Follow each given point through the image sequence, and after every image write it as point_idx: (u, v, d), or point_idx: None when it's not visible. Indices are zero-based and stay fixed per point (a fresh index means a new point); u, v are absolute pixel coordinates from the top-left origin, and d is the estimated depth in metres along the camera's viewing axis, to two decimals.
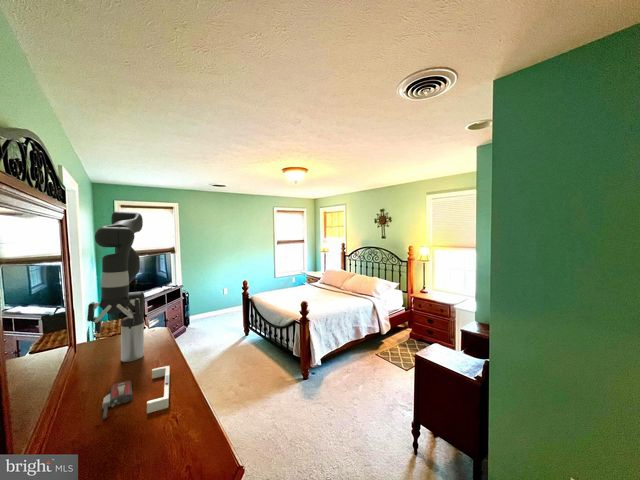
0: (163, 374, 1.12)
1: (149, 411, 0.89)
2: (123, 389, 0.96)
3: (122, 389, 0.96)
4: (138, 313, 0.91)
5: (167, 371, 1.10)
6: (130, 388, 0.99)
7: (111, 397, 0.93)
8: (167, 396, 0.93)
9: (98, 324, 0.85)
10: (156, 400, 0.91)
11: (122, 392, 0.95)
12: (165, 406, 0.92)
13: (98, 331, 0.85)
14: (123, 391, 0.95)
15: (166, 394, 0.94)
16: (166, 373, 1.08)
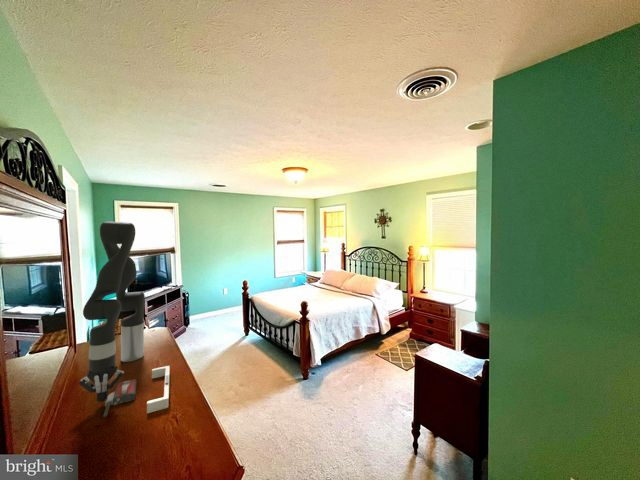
0: (163, 374, 1.12)
1: (149, 411, 0.89)
2: (126, 388, 0.96)
3: (125, 388, 0.96)
4: (112, 386, 0.93)
5: (167, 371, 1.10)
6: (134, 387, 1.00)
7: (114, 395, 0.94)
8: (167, 396, 0.93)
9: (100, 394, 0.92)
10: (156, 400, 0.91)
11: (125, 391, 0.95)
12: (165, 406, 0.92)
13: (100, 400, 0.92)
14: (126, 390, 0.96)
15: (166, 394, 0.94)
16: (166, 373, 1.08)
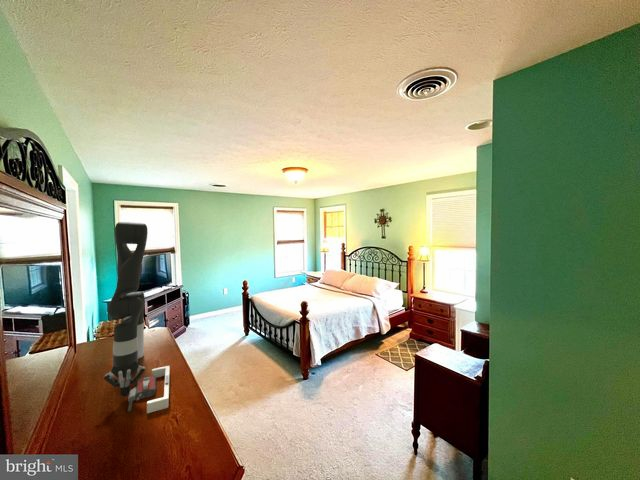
0: (163, 374, 1.12)
1: (149, 411, 0.89)
2: (147, 384, 1.00)
3: (146, 384, 0.99)
4: (134, 381, 0.96)
5: (167, 371, 1.10)
6: (154, 383, 1.03)
7: (136, 391, 0.97)
8: (167, 396, 0.93)
9: (123, 389, 0.95)
10: (156, 400, 0.91)
11: (146, 386, 0.98)
12: (165, 406, 0.92)
13: (123, 395, 0.95)
14: (147, 386, 0.99)
15: (166, 394, 0.94)
16: (166, 373, 1.08)
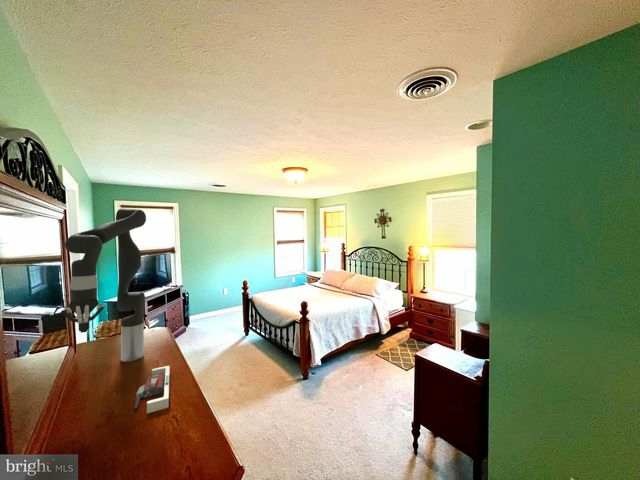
0: None
1: (149, 411, 0.89)
2: (155, 382, 1.01)
3: (154, 381, 1.01)
4: (93, 318, 0.98)
5: (167, 371, 1.10)
6: (162, 381, 1.04)
7: (144, 388, 0.99)
8: (167, 396, 0.93)
9: (81, 324, 0.96)
10: (156, 400, 0.91)
11: (154, 384, 1.00)
12: (165, 406, 0.92)
13: (81, 331, 0.96)
14: (155, 383, 1.00)
15: (166, 394, 0.94)
16: (166, 373, 1.08)
